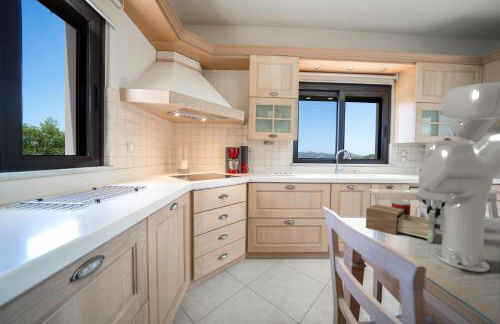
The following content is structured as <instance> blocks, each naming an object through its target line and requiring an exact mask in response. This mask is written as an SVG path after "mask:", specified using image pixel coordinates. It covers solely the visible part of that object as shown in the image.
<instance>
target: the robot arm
mask: <svg viewBox="0 0 500 324" xmlns="http://www.w3.org/2000/svg"><path fill="white" fill-rule="evenodd" d="M440 111H441V113H442V115H443V116H444V117H446V118H450V119H453V120H451V123H450V129H451V131H452V133H454V134H455V135H457V136H458V137H460V138H463V139H466V140H435V141H432V142H427V143H426V144H425V149H424V165H423V167H422V168H420V169H419V175H418V183H419V185H418V194H417V196H416V198H415V199H416V200H417V201H420V202H421V201H422V202H423V203H424V204H425V205H426V206H427V214H429V212H430V211H431V210H432V206H431V200H434V201H438V204H437V207H436V208H435V218H438V216H440V211H441V208H442V207H444V217H443V231H442V234H441V235H442V236H441V249H439V250H436V251H435V252H434V255H435V258H436V259H438V260H439V261H441V262H443V263H444V264H447V265H449V266H450V267H451V266H452V267H454V268H458V269H460V270H465V271H468V272H477V273H485V272H489V270H490V265H489V264H488V263H487V262H486V261H485V260H483V256H484V243H485V242H484V241H485V239H484V238H485V226H486V225H485V224H486V214H487V211H486V210H487V205H488V199H489V195H490V192H491V190H492V188H493V187H492V186H493V181H494V177H497V176H499V175H500V125H498V126H496V127H494V128H492V129H491V130H489V131H488V129H490V127H491V126H492V125H493V124H494V123H496V121H497V120H500V81H498V82H495V81H494V82H483V83H482V82H481V83H475V84H469V85H468V84H467V85H464V86H457V87H453V88H452V89H450V90H449V91H448V92H447V93H445V95H444V96H443V98H442V100H441V104H440ZM451 195H453V196H452V197H451ZM425 199H426V200H425ZM442 202H443V203H442ZM428 217H429V215H428Z"/></svg>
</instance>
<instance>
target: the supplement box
mask: <svg viewBox="0 0 500 324" xmlns="http://www.w3.org/2000/svg"><path fill="white" fill-rule="evenodd" d="M453 195H454V194H452V195H451V197H452V196H453ZM425 200H426V199H425ZM442 203H443V202H442ZM437 204H438V201H434V200H431V206H432V208H433V207H437ZM428 215H429V214H427V206H426V205H425V204H424V203H423V202H422V201H420V217H421V218H426V219H429V217H428ZM443 217H444V207H442V208H441V211H440V216H438V218H437V224H440V229H437V231H442V232H443Z"/></svg>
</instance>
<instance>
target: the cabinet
mask: <svg viewBox="0 0 500 324" xmlns="http://www.w3.org/2000/svg"><path fill="white" fill-rule="evenodd" d="M365 211H366V214H365V216H366V217H365V228H367V229H371V230H375V231H378V232H382V233H387V234H389V235H390V234H391V235H395V236H396V235H398V234H399V232H398V231H397V219H398V218H399V217H400V216H402V215H403V214H404V209H402V208H396V207H392V206H391V205H390V206H389V205H383V204H377V203H375V204H374V205H371V206H369V207H367V208H366V210H365Z"/></svg>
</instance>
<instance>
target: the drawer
mask: <svg viewBox="0 0 500 324" xmlns="http://www.w3.org/2000/svg"><path fill="white" fill-rule="evenodd" d="M435 208H436V207H433V208H432V210H431V211H430V212H429V219H426V218H421V217H419V216H415V215H411V214H410V215H404V214H403V215H402V216H400V217H399V218H398V219H397V231H398V233H403V234H407V235H411V236H416V237H420V238H424V239H427V240H426V242H428V243H433V242H434V239H435V238H436V235H437V231H438V230H437V229H440V224H437V218H435Z"/></svg>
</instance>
